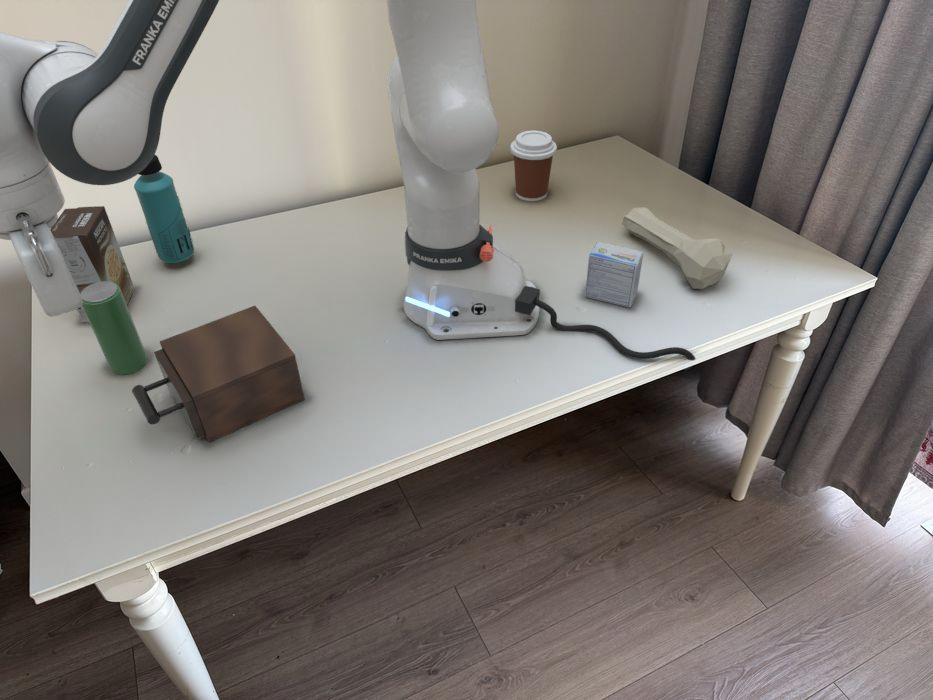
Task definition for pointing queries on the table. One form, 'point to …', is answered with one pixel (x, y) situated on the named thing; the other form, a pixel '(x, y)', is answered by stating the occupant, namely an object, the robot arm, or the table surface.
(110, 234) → the coffee box
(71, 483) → the table surface
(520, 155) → the coffee cup
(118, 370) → the green can
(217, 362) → the cabinet
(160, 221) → the beverage bottle
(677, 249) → the faceted club
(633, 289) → the medicine box
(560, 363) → the table surface
